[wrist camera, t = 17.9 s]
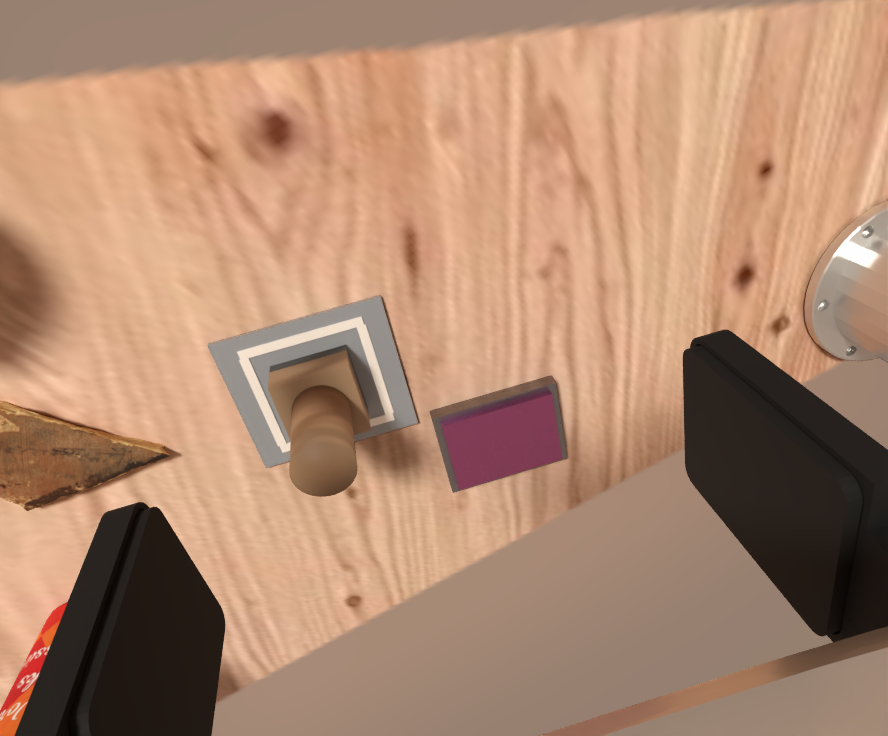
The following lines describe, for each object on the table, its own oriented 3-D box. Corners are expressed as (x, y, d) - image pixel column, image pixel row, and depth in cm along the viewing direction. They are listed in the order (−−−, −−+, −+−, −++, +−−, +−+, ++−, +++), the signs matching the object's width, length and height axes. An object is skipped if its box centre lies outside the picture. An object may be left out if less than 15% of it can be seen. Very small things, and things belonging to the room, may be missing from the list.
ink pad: (551, 375, 45) (558, 386, 44) (562, 450, 49) (569, 462, 47) (429, 411, 45) (433, 423, 43) (450, 484, 48) (454, 497, 47)
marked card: (380, 295, 40) (380, 297, 39) (417, 420, 45) (418, 423, 44) (208, 344, 39) (207, 346, 39) (266, 465, 44) (265, 468, 44)
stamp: (346, 344, 40) (355, 420, 33) (367, 406, 43) (380, 490, 36) (269, 366, 40) (261, 448, 33) (296, 427, 43) (294, 516, 35)
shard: (174, 442, 43) (169, 458, 41) (137, 523, 45) (131, 541, 44) (-9, 387, 38) (-22, 403, 37) (-38, 480, 41) (-51, 498, 39)
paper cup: (140, 587, 47) (84, 782, 35) (145, 655, 51) (96, 853, 39) (22, 590, 46) (-79, 797, 34) (35, 660, 49) (-51, 870, 37)
